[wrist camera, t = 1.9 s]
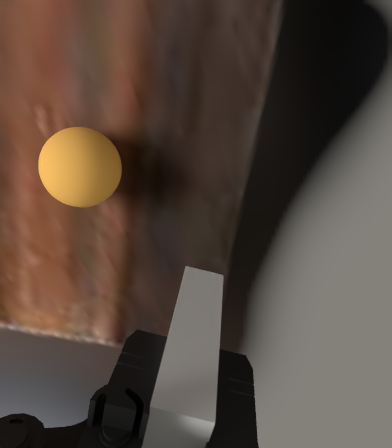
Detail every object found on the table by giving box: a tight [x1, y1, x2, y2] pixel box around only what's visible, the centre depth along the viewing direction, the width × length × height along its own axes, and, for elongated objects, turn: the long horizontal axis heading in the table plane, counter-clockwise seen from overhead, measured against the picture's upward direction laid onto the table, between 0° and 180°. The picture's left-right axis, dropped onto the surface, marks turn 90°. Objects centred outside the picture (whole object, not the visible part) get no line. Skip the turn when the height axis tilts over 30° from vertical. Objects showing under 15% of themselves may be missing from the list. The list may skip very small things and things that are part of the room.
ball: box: [39, 127, 122, 207], centre depth 25 cm, size 6×6×6 cm
